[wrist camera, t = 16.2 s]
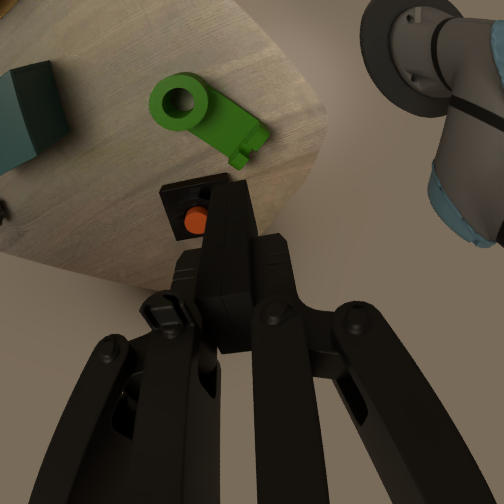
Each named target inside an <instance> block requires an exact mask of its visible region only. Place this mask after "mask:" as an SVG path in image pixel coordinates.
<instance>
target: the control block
mask: <svg viewBox="0 0 504 504" xmlns="http://www.w3.org/2000/svg"><path fill="white" fill-rule="evenodd" d="M226 183H229V181H228V176H227V173H221V174H216V175H210V176H205V177H200V178H195V179H190V180H186V181H181V182H176V183H172V184H167V185H163V186H162V187H161V189H160V191H159V194H160V197H161V200H162V202H163V205H164V208H165V211H166V214H167V216H168V219H169V222H170V225H171V227H172V230H173V233H174V235H175V238H176V241H179V240H185V239H191V238H197V237H203V236H204V233H201V234H194V233H191V232H190V231H188V230H187V228H186V227H185V223H184V222H185V217H186V214H187V211H188V210H189V209H190V208H192V207H196V206H200V207H203V208H205V209H207V210H208V207H209V202H210V196H211V191H212V186H216V185H221V184H226Z"/></svg>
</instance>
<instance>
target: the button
mask: <svg viewBox="0 0 504 504" xmlns="http://www.w3.org/2000/svg"><path fill="white" fill-rule="evenodd" d="M207 213H208V210H207V209H205V208H203V207H200V206H196V207H192V208H190V209H189V210H188V211H187V214H186V217H185V222H184V223H185V227H186V228H187V230H188V231H190V232H191V233H194V234H201V233H204V230H205V224H206V218H207Z"/></svg>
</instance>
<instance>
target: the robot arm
mask: <svg viewBox="0 0 504 504" xmlns="http://www.w3.org/2000/svg"><path fill="white" fill-rule="evenodd" d="M388 51H389V55H390V59H391V62H392V64H393V66H394V68H395V70H396V72H397V74H398V75H399V76H400V78H401V79H402V80H403V81H404V82H405V83H406V84H407V85H408V86H409V87H410V88H412V89H413V90H415V91H417V92H419V93H421V94H424V95H426V96H429V97H433V98H446V97H451V98H450V103H449V107H448V111H447V116H446V121H445V125H444V128H443V132H442V136H441V139H440V143H439V146H438V150H437V153H436V157H435V159H434V160H433V162H432V172H431V176H430V180H429V183H428V188H427V190H428V196H429V199H430V203H431V205H432V207H433V209H434V210H435V212H436V213H437V215H438V216H439V217H440V218H441V220H442V221H443V222H444V223H445V224H446V225H447V226H448V227H450V229H451V230H453V231H454V232H455V233H456V234H457V235H459V236H460V237H461V238H463V239H464V240H466V241H467V242H473V243H474V244H475V246H478V247H481V248H489V247H491V246H492V245H494V244H496V242H497V243H499V244H500V245H501V246H502V247H503V248H504V20H497V21H496V20H487V19H476V18H458V17H454V16H451V15H449V14H447V13H445V12H443V11H440V10H438V9H435V8H432V7H428V6H416V7H410V8H407V9H405V10H403V11H401V12H400V13H399V14H397V16H396V17H395V18H394V20H393V21H392V23H391V25H390V28H389V32H388ZM139 311H140V313H141V314H142V316H143V317H144V319H145V320H146V322H147V323H148V325H149V326H150V327H151V329H152V331H151V332H149V333H147V334H146V335H143V336H141V337H138V338H135V339H133V340H130V341H128V340H127V339H126V338H125V337H124V336H122V335H120V334H111V335H109V336H106V337H104V338H103V339H102V340H101V341H99V343H98V344H97V345H96V347H95V348H94V350H93V352H92V354H91V356H90V358H89V360H88V362H87V364H86V365H85V367H84V369H83V371H82V373H81V375H80V378H79V379H78V382H77V384H76V386H75V388H74V390H73V392H72V394H71V396H70V398H69V401H68V403H67V405H66V407H65V409H64V411H63V414H62V416H61V418H60V420H59V423H58V425H57V427H56V430H55V432H54V434H53V437H52V439H51V442H50V444H49V447H48V449H47V452H46V454H45V457H44V459H43V462H42V465H41V467H40V470H39V473H38V476H37V479H36V482H35V484H34V487H33V490H32V493H31V497H30V500H29V503H28V504H220V396H221V368H220V363H219V361H218V360H217V347H218V348H219V350H220V352H221V354H229V353H238V352H247V351H252V373H253V401H254V428H255V453H256V478H257V503H258V504H330V502H329V493H328V484H327V476H326V467H325V460H324V451H323V444H322V436H321V429H320V422H319V415H318V409H317V402H316V395H315V389H314V382H313V377H320V378H327V379H332V381H333V383H334V385H335V387H336V389H337V391H338V393H339V395H340V397H341V399H342V401H343V403H344V405H345V407H346V409H347V411H348V413H349V415H350V417H351V419H352V421H353V423H354V425H355V427H356V429H357V431H358V433H359V435H360V437H361V439H362V441H363V443H364V445H365V448H366V450H367V452H368V454H369V456H370V458H371V460H372V462H373V464H374V466H375V468H376V470H377V472H378V474H379V476H380V478H381V480H382V483H383V485H384V487H385V489H386V491H387V493H388V495H389V497H390V499H391V501H392V503H393V504H497V503H496V501H495V499H494V497H493V495H492V493H491V490H490V488H489V486H488V484H487V483H486V480H485V478H484V477H483V475H482V473H481V471H480V469H479V467H478V465H477V463H476V461H475V460H474V458H473V456H472V454H471V452H470V451H469V449H468V447H467V445H466V443H465V442H464V440H463V438H462V436H461V435H460V433H459V431H458V429H457V428H456V426H455V424H454V423H453V421H452V419H451V418H450V416H449V414H448V413H447V411H446V410H445V408H444V406H443V405H442V403H441V401H440V400H439V398H438V397H437V395H436V393H435V392H434V390H433V389H432V387H431V386H430V384H429V382H428V381H427V379H426V378H425V377H424V375H423V373H422V372H421V370H420V369H419V367H418V366H417V365H416V363H415V361H414V360H413V358H412V357H411V355H410V354H409V352H408V351H407V350H406V348H405V347H404V346H403V344H402V342H401V341H400V339H399V338H398V337H397V335H396V334H395V332H394V331H393V330H392V328H391V327H390V325H389V324H388V323H387V321H386V320H385V318H384V317H383V316H382V314H381V313H380V312H379V310H377V309H376V308H375V307H374V306H373V305H371V304H369V303H366V302H363V301H352V302H347V303H344V304H343V305H341V306H340V307H338V308H337V309H336V310H335V312H330V311H320V310H315V309H312V308H310V307H308V306H306V305H305V304H304V303H302V301H301V300H300V299H299V297H298V294H297V290H296V285H295V280H294V275H293V270H292V265H291V260H290V255H289V250H288V245H287V241H286V240H285V239H284V238H283V237H282V236H281V234H279V233H276V234H270V235H265V236H258V230H257V226H256V221H255V217H254V212H253V208H252V204H251V199H250V195H249V190H248V186H247V182H246V180H241V181H236V182H231V183H226V184H221V185H216V186H212V191H211V196H210V202H209V207H208V213H207V218H206V224H205V230H204V236H203V242H202V248H197V249H191V250H186V251H184V252H183V253H182V255H181V256H180V257H179V259H178V260H177V263H176V267H175V273H174V276H173V282H172V284H171V289H170V290H163V291H160V292H156V293H155V294H153V295H151V296H150V297H148V298H147V299H146V301H144V303H143V304H142V306H141V308H140V310H139ZM122 392H123V394H122Z"/></svg>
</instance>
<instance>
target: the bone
mask: <svg viewBox="0 0 504 504" xmlns="http://www.w3.org/2000/svg"><path fill="white" fill-rule="evenodd" d="M4 216H5V213H4V210H3V209H2V207H1V203H0V226H1V225H2V224H3V223H2V221H3V218H4Z"/></svg>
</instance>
